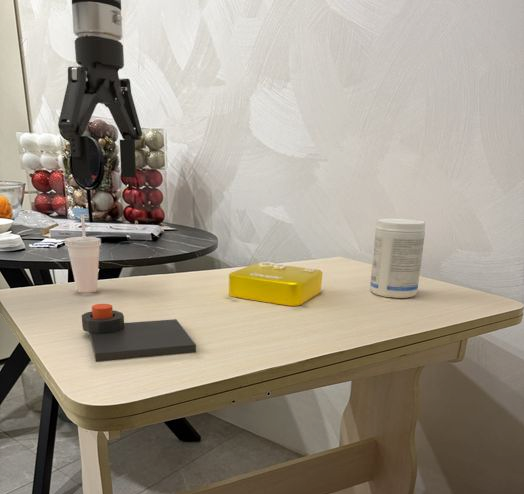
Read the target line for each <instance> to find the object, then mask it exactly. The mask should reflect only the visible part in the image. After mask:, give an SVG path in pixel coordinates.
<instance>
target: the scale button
mask: <svg viewBox="0 0 524 494" xmlns="http://www.w3.org/2000/svg"><path fill="white" fill-rule="evenodd" d="M113 310H114V309H113V305H112V304H110V303H95V304H92V306H91V311H92V316H93V318H94V319H107V318H112V317H113Z"/></svg>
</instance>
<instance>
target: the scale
mask: <svg viewBox="0 0 524 494" xmlns="http://www.w3.org/2000/svg"><path fill="white" fill-rule="evenodd" d="M112 310H113V317H112V318H107V319H94V318H93V316H92V310H91V311H87V312H84V313H83V314H82V315H81V326H82V331H84V332H87V333H88V335H89V339H90V343H91V347H92V352H93V355H94V360H95V362H96V363H99V362H109V361H119V360H120V361H121V360H131V359H139V358H141V359H142V358H151V357H162V356H173V355H183V354H194V353H197V345H196V343H195V342H194V340H193V339H192V338H191V336H190V335H189V334H188V332H187V331H186V330H185V328H184V327H183V326H182V325H181V324H180V322H179V321H178V319H176V318H175V319H173V318H172V319H160V320H147V321H132V322H130V321H129V322H125V315H124V313H123V312H121V311H118V310H114V309H112Z"/></svg>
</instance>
